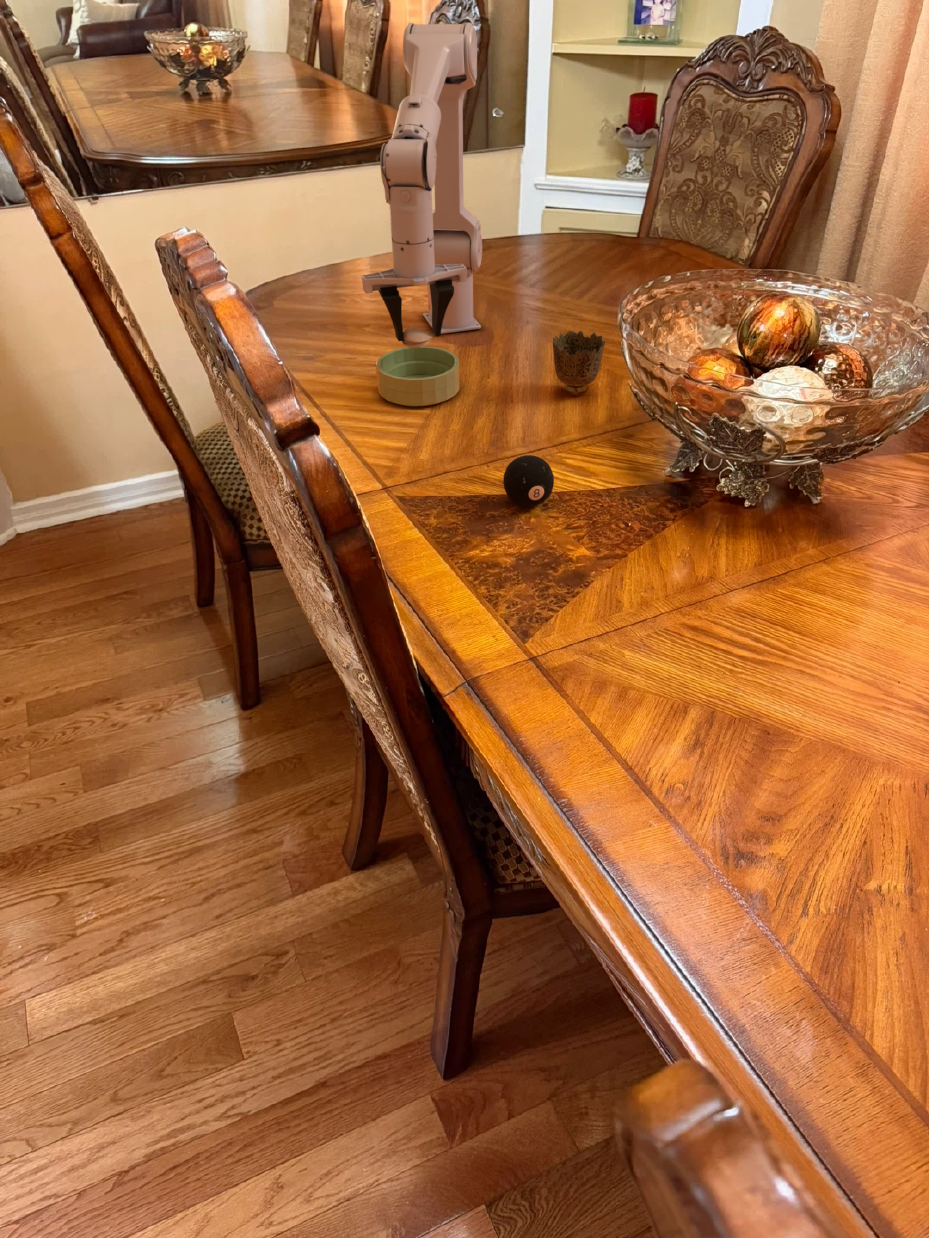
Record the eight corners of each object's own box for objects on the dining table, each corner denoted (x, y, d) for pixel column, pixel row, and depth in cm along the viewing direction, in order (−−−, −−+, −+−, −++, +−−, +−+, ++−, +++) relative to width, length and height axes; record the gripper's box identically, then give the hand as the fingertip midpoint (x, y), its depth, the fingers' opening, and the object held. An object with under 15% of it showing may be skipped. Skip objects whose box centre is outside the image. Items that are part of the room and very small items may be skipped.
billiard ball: (512, 519, 106) (512, 475, 102) (497, 494, 110) (497, 450, 106) (559, 511, 107) (562, 467, 103) (543, 486, 111) (544, 443, 108)
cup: (542, 397, 131) (544, 344, 126) (562, 378, 136) (564, 327, 131) (589, 407, 128) (593, 353, 123) (607, 387, 133) (612, 335, 128)
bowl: (371, 380, 137) (368, 352, 134) (447, 369, 140) (446, 341, 137) (388, 414, 128) (385, 384, 125) (469, 402, 130) (468, 373, 128)
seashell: (398, 343, 130) (397, 326, 129) (430, 337, 132) (429, 321, 130) (407, 354, 127) (406, 336, 126) (440, 348, 129) (439, 331, 127)
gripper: (365, 252, 116) (374, 353, 124) (472, 241, 119) (473, 340, 127) (355, 237, 121) (364, 335, 130) (457, 226, 124) (460, 322, 132)
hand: (417, 336), depth 129 cm, fingers closed on seashell, 5 cm apart
